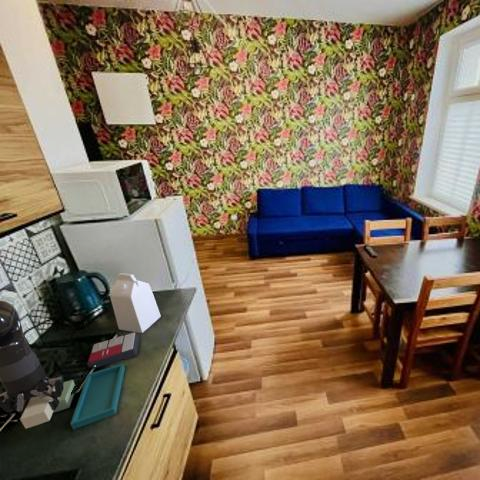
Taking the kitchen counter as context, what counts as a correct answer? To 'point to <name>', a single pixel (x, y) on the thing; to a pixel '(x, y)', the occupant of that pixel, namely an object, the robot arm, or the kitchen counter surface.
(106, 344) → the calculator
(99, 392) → the tray
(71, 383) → the pale green rectangular block
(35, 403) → the pad
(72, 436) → the kitchen counter surface
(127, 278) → the milk
